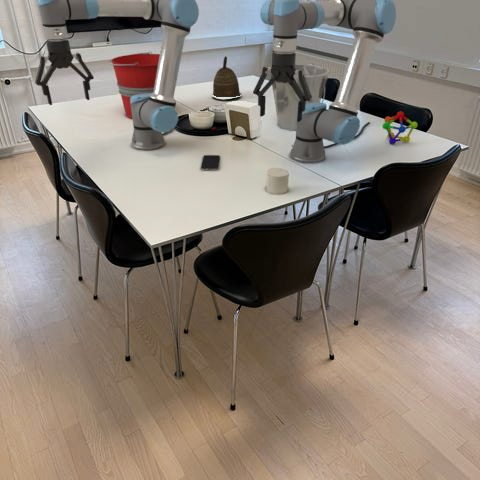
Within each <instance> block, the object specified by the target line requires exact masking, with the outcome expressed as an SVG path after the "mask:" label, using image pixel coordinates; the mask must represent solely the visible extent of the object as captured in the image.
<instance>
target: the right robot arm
mask: <svg viewBox="0 0 480 480" xmlns="http://www.w3.org/2000/svg"><path fill="white" fill-rule="evenodd" d="M259 13H260V14H259V15H260V20H261V22H262V23H264V24H265V25H269V26H273V30H272V31H273V32H272V33H273V34H272V36H273V37H272V51H273V52H272V55H271V66H269V65H265V66H262V71H261V74H260V77H259V78H258V80H257V82H256V85H255V87H254V89H253V91H252V94H253V95H256V96H257V106H258V107H259V117H264V116H265V115H266V97H267V96H266V95H265V93H266V92H268V90H269V89H270V88H272V84H273V83H274V82H275V81H277V82H282V83H289V85H291V87H292V88H293V90H294V91H295V93H296V94H297V96H298V98H299V99H300V101H299V102H298V114H297V126H296V130H295V139H294V142H293V143H292V144H291V147H292V148H291V149H290V155H289V157H290V158H291V159H292V160H293V161H295V162H299V163H303V164H316V163H321V162H323V161H325V159H326V151H325V149H329V148H331V147H334V146H337V145H347V144H350V142H352V141H353V140H355V139H357V138H359V136H360V135H361V134H362V132H363V131H364V129H365V128H366V127H367V126H368V125H370V124H371V122H370V121H367V122H366V123H365V124H364V125H362V127H361V129H360V126H361V124H360V123H361V120H360V118H359V117H358V114H359V111H358V109H357V105H358V102H359V99H360V96H361V93H362V90H363V87H364V83H365V81H366V78H367V75H368V72H369V69H370V66H371V63H372V60H373V57H374V54H375V51H376V48H377V45H378V44H379V43H380V42H382V41H383V39H384V37H385V35H387V34H390V33H391V32H392V30H393V29H394V27H395V24H396V21H397V10H396V4H395V3H394V1H393V0H266V1H264V2H263V3H262V5H261V7H260V12H259ZM324 24H325V25H327V26H329V27H338V28H344V29H347V30H352V36H353V37H354V40H353V43H352V46H351V49H350V51H349V52H350V53H349V55H348V59H347V62H346V65H345V68H344V72H343V74H342V78H341V81H340V84H339V87H338V89H337V94H336V96H335V99H334V101H333V102H332V103H330V104H329V106H328V107H327V104H326V103H325V102H323V103H322V102H320V103H306V101H309V100H310V99H312V96H311V93H310V90H309V87H308V85H307V82H306V79H305V76H304V69H301V70H295V64H296V58H297V54H296V51H297V45H298V44H297V43H298V42H297V41H298V31H302V30H314V29H316V28H319V27H320V26H322V25H324ZM270 71H271V73H272V75H273V77H272V78H271V77H270V79H269V80H268V82H266V84H265V85H264V86H263V84H264V83H265V80H266V78H267V77H268V74H270ZM295 74H296V75H297V77H299V81H300V84H301V87H302V89H303V92H304V93H303V92H302V90H301V89H300V87H299V86H298V84H297V83H296V80H295V79H294V77H293V76H294V75H295ZM262 86H263V87H262ZM359 130H360V131H359ZM324 140H325V141H328V142H332V143H331V144H328V145H324Z"/></svg>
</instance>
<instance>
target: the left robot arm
mask: <svg viewBox="0 0 480 480" xmlns="http://www.w3.org/2000/svg"><path fill="white" fill-rule="evenodd" d="M36 1H37V6H38V10H39V14H40V19H41V23H42V30H43V34H44V38H45V40H46V42H45V44H46V49H47V52H48V55H47V56H43V55H39V65H38V68H37V73H36V76H35V80H34V84H35V85H36V86H40V87H41V91H42V94H43V95H44V97H46V98H47V103H48V105H49V106H53V102H52V97H51V93H50V88H49V85H47V84H48V82H49V81H50V79H51V77H52V76H53V74H54V72H55V71H56V69H59V70H61V69H68V68H71V69H72V70H73V71H75V72H76V74H78V75H79V76H80V77H81V78H82V79H83V80H82V85H83V86H82V87H83V93H84V97H85V99H86V100H87V101H90V100H91V99H90V94H89V91H91V83H90V81H91V80H94V78H95V77H94V75H93V73H92V72H91V70H90V69H89V68H88V66H87V65H86V63H85V62H84V60H83V58H82V55H81V53H79V52H76V53H72V51H71V45H70V40H68V38H69V35H68V29H67V22H66V21H69V20H90V19H96V18H97V17H124V18H125V17H127V18H128V17H131V18H132V17H134V18H135V17H137V18H138V17H139V18H143V19H144V20H149V21H150V20H153V21H158V22H160V27H161V29H162V31H163V35H162V38H161V39H162V40H161V45H160V51H159V54H160V57H159V62H158V68H157V74H156V80H155V86H154V91H153V93H144V94H137V95H133V96H132V97H131V98H130V102H131V103H130V105H131V111H132V118H133V119H132V125H133V132H132V135H131V147H132V148H134V149H135V150H141V151H151V150H153V151H154V150H157V149H161V148H163V147H164V146H165V144H166V140H165V137H164V136H165V135H167V134H169V133H171V132H173V130H174V129H175V127H176V126H177V125H178V123H179V122H180V121H182V120H183V119H186V118H187V117H189V116H188V114H186V115H184V116H181V117H180V118H181V119H180V118H179V114H178V111H177V109H176V106H177V101H176V99H175V92H176V87H177V81H178V76H179V72H180V71H179V70H180V65H181V60H182V55H183V50H184V45H185V39H186V37H187V36H188V35H190V33H191V28H192V27H193V26H194V25H195V24H196V23H197V22H198V20H199V15H200V9H199V5H198V3H197V1H196V0H36ZM74 59H75V60H76V61H78V63H79V65H80V66H81V68H82V70H83V71H84V72H85V73H86V74H84V73H83V71H81V69H79V68H78V67H77V66H76V65H74V63H73V60H74ZM48 61H49V62H50V65H49V67H48V70H47V71H46V72H45V75H44V76H43V74H44V71H45V66H46V64H47V63H48ZM205 108H206V109H205ZM205 108H203V110H202V109H200V111H201V112H204V111H206V110H208V109H207V108H208V107H205Z"/></svg>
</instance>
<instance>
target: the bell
mask: <svg viewBox="0 0 480 480" xmlns="http://www.w3.org/2000/svg"><path fill="white" fill-rule="evenodd" d="M227 63H228V57H227V56H224V58H223V63H222V67H221V68H219V69H218V70H217V71H216V73H215V75H214V78H213V81H212V83H213V84H212V95H214V96H216V97H236V96H240V95H241V96H242V93H241V92H240V83H239V80H238V79H239V78H238V77H237V75H236V73H235V72H234V70H232V69H231V68H230V67H227Z"/></svg>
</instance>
